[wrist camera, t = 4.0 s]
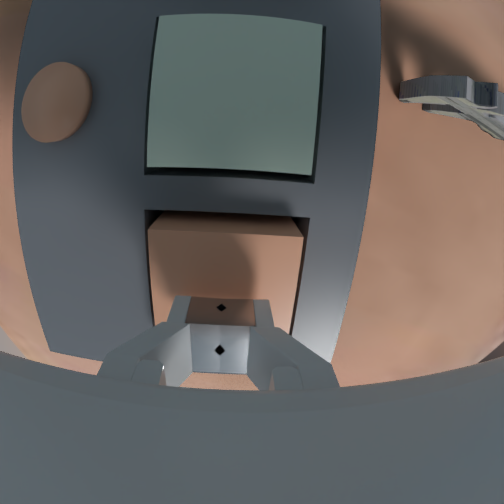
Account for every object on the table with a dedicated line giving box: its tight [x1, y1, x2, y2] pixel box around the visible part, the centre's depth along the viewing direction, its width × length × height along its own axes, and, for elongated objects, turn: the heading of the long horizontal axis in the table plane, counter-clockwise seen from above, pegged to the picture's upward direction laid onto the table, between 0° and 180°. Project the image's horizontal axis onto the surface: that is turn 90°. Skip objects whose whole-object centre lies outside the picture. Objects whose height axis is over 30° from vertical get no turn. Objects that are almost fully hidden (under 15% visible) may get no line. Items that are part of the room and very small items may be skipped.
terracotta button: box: [148, 210, 304, 334], centre depth 12 cm, size 5×5×3 cm
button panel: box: [13, 0, 381, 374], centre depth 10 cm, size 23×14×5 cm, turn 176°
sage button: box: [147, 14, 322, 175], centre depth 9 cm, size 5×5×3 cm
